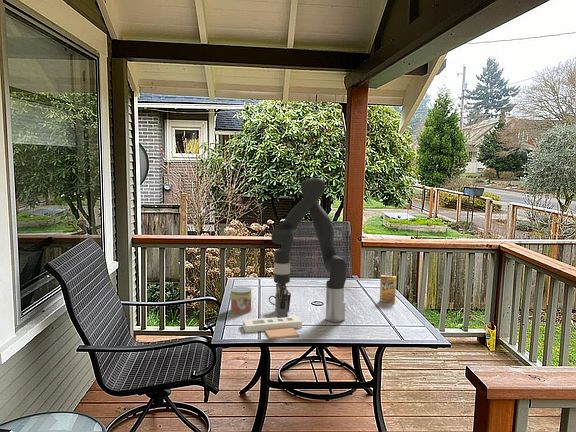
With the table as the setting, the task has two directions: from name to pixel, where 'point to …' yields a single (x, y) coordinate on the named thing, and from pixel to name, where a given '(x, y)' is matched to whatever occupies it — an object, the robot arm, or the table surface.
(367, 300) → the table surface
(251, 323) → the power strip
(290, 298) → the coffee mug
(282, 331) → the mat
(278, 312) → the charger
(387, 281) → the candy box
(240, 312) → the canned food
